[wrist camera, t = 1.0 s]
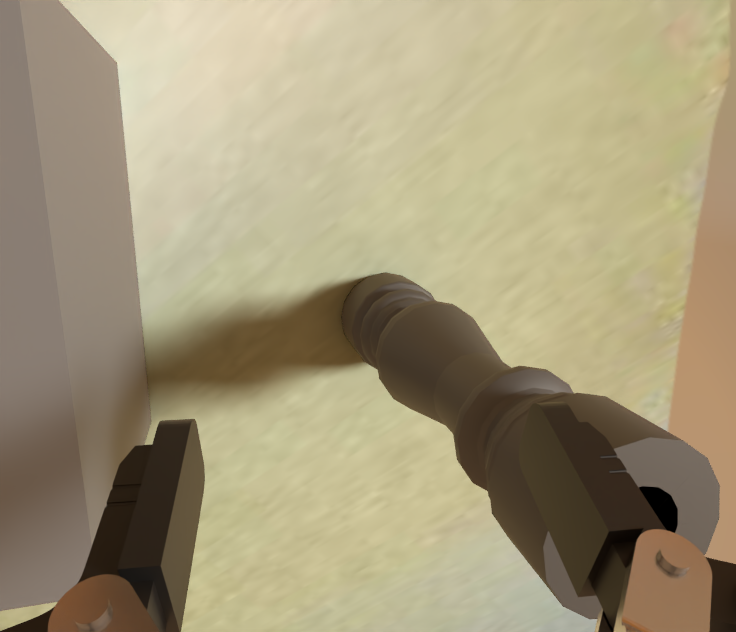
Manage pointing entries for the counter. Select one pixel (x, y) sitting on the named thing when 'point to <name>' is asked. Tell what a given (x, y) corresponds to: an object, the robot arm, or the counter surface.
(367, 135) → the counter surface
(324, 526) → the counter surface
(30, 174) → the control panel
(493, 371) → the candle holder
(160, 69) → the counter surface
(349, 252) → the counter surface
